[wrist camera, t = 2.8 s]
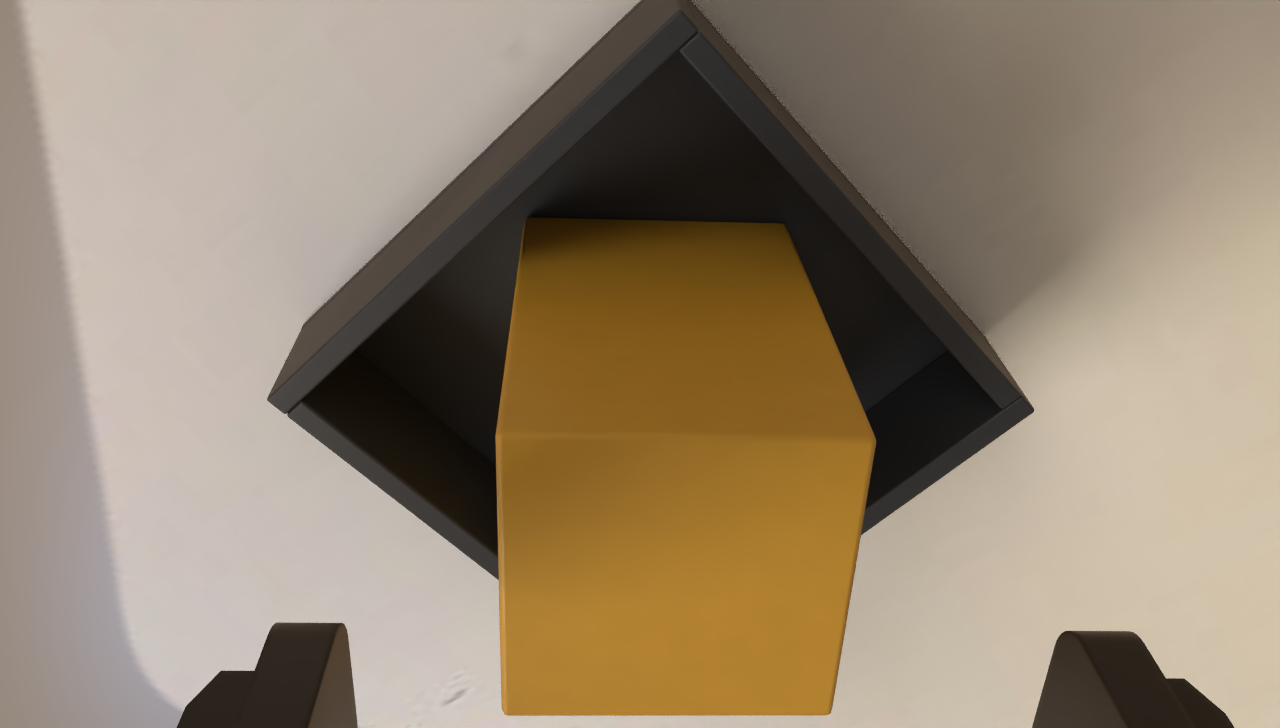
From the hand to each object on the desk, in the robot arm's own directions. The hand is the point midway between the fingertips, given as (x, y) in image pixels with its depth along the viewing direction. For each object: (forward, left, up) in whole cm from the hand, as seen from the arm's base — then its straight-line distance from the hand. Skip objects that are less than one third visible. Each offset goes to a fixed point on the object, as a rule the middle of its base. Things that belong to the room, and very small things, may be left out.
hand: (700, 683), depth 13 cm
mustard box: (0, 0, -9) cm, 9 cm away
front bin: (0, 0, -9) cm, 9 cm away
